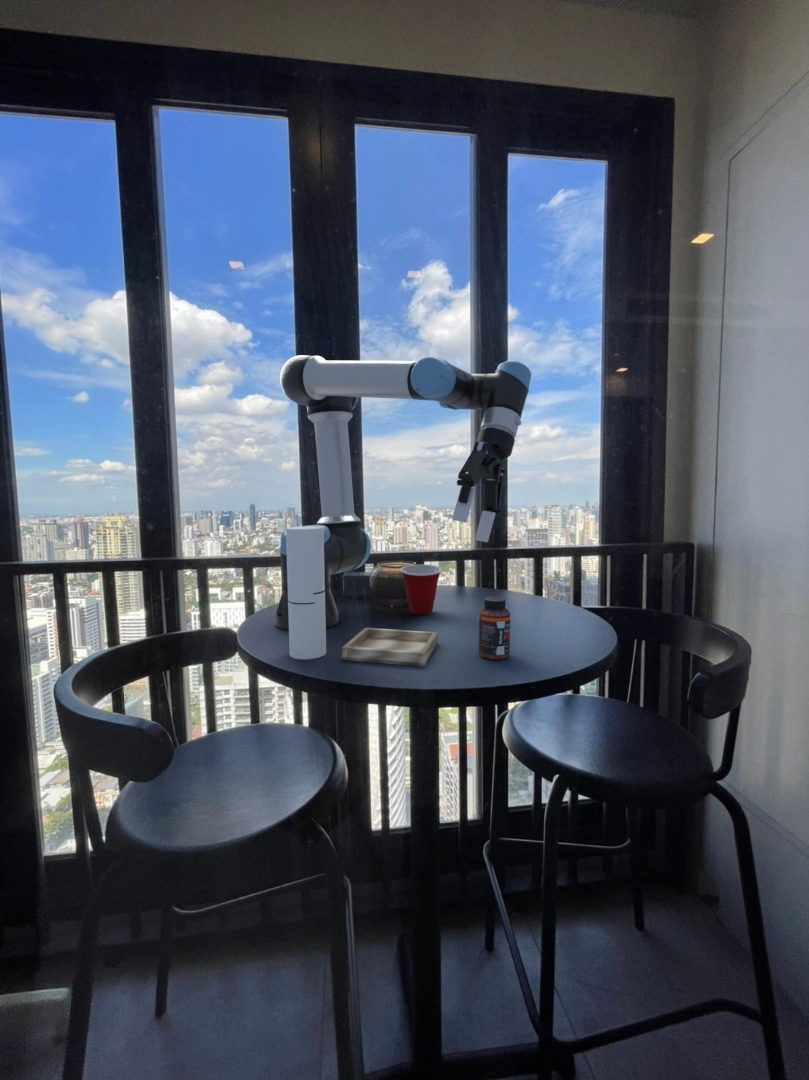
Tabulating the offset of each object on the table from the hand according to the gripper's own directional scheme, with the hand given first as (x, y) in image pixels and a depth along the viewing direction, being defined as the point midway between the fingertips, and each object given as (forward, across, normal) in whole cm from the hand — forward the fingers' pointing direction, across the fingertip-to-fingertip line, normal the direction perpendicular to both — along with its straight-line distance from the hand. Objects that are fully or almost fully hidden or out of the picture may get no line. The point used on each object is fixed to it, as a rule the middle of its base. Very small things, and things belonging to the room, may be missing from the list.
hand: (470, 531), depth 99 cm
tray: (+27, 0, +10) cm, 29 cm away
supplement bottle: (+22, +7, -9) cm, 25 cm away
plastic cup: (+17, +29, +20) cm, 39 cm away
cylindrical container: (+32, -8, +23) cm, 41 cm away
